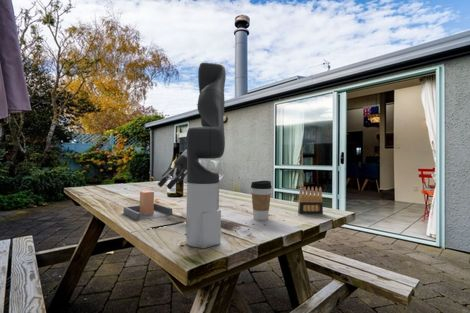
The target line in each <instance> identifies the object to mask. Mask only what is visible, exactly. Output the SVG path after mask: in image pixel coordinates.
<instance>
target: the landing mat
mask: <svg viewBox="0 0 470 313" xmlns="http://www.w3.org/2000/svg"><path fill="white" fill-rule="evenodd" d="M184 223H185V222H184V221H178V222H172V223H167V224H162V225H157V226H151V227H150V229H151V228H152V229H151V230H154V229H153V228H155V229H160V228H159V227H161V228H164V226H166V227H170V226H176V225H180V224H184Z"/></svg>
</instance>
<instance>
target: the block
mask: <svg viewBox="0 0 470 313" xmlns="http://www.w3.org/2000/svg"><path fill="white" fill-rule="evenodd" d="M154 203H155V191H152V190H142V191H141V190H140V191H139V205H140V214H142V215H149V214H154Z"/></svg>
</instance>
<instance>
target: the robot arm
mask: <svg viewBox="0 0 470 313" xmlns="http://www.w3.org/2000/svg"><path fill="white" fill-rule="evenodd" d="M197 75H198V76H197V77H198V81H197V82H198V90H199V91H198V94H199V95H198V99H197V105H196V107H197V111H198V113H199V115H200V119H201V120H200V122H201V124H200V126H197V125H196V126H190V127H189V128H188V129H187V132H186V138H185V140H186V142H185V143H186V149H185V150H184V151H183V152H182V153H181V154H180V155H179V156H178V157H177V158H176V159H175V161H174V167H171V166H170V167H169V168H168V169H167V170H166V171H165V172H164V173H163V174H162V175H161V177H162V178H161V179H160V181H159V182H158V183H157V186H158V187H159V188H162V187H163V186H164V185H165V184H166V183H167V181H169V180H170V181H169V182H168V183H167V185H166V188H167V189H168V190H171V189H172V188H173V187H174V186H175V185H176V184H178V183H181V182H182V181H183V180H184V179H185V177H186V219H185V220H186V224H185V226H186V227H185V230H186V231H185V232H186V233H185V235H186V238H185V242H186V243H185V244H186V245H187V246H190V247H194V248H200V249H206V248H209V247H214V246H217V245H219V244H221V243H222V242H221V240H222V238H221V230H222V227H221V226H222V211H221V209H219V208H220V174H219V172H218V171H215V170H213V169H209V168H207V167H205V166H204V165H203V164H201V163H200V161H199V159H200V160H201V159H202V160H203V159H205V160H207V159H209V160H210V159H212V160H215V159H220V158H221V157H223V155H224V152H225V148H226V144H225V143H226V138H225V126H224V125H225V122H224V118H225V117H224V115H225V84H226V79H227V78H226V76H227V73H226V67H225V66H224V64H221V63H215V62H201V63H199V66H198V74H197Z"/></svg>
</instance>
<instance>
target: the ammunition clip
mask: <svg viewBox="0 0 470 313" xmlns="http://www.w3.org/2000/svg"><path fill="white" fill-rule="evenodd" d="M322 191H323V189H322V187H321V186H319V188H318V187H317V186H315V189H314V186H311V189H310V186H307V187H306V186H304V187H302V186H300V187H299V196H298V206H297V208H298V209H297V210H298V211H297V213H298V214H300V215H323V214H324V210H323V209H324V207H323V206H324V203H323V194H322V193H323V192H322ZM305 213H307V214H305Z"/></svg>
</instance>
